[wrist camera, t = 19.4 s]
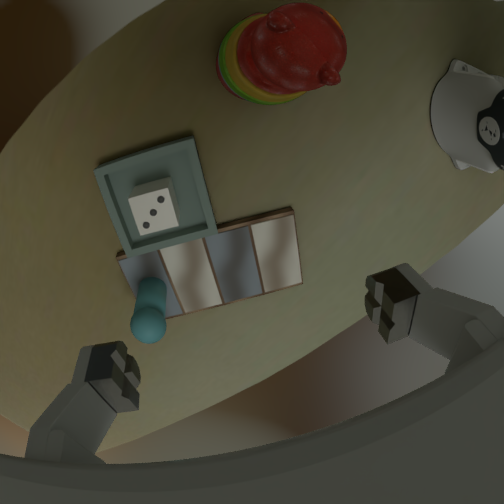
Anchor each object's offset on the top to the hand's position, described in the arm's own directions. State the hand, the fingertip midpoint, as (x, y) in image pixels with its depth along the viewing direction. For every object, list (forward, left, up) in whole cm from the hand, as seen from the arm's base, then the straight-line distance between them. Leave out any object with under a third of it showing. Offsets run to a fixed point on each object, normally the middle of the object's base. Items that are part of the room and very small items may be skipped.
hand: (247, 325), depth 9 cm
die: (+7, +4, -28) cm, 29 cm away
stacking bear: (-8, -9, -29) cm, 32 cm away
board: (+3, +16, -29) cm, 33 cm away
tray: (+7, +4, -29) cm, 30 cm away
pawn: (+12, +16, -28) cm, 34 cm away
